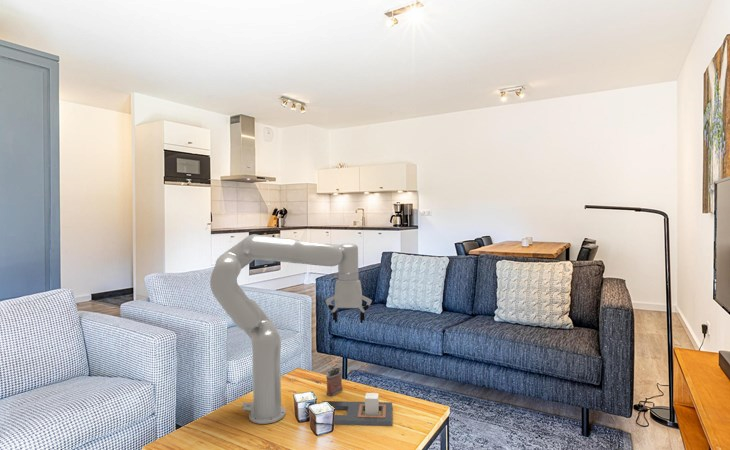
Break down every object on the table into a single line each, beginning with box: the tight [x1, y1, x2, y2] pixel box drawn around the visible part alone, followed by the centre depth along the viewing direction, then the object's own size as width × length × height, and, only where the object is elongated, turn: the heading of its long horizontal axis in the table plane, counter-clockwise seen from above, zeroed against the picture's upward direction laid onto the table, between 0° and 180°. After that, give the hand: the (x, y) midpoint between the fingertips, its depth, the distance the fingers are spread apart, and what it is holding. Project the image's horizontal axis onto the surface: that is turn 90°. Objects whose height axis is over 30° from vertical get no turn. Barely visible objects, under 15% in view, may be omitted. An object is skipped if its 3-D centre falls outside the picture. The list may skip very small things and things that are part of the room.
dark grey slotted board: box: [321, 400, 393, 427], centre depth 147 cm, size 26×14×2 cm, turn 86°
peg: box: [364, 392, 380, 416], centre depth 146 cm, size 4×4×7 cm
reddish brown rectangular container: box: [325, 365, 343, 397], centre depth 165 cm, size 8×3×10 cm, turn 144°
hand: (348, 322), depth 156 cm, fingers open, 9 cm apart
